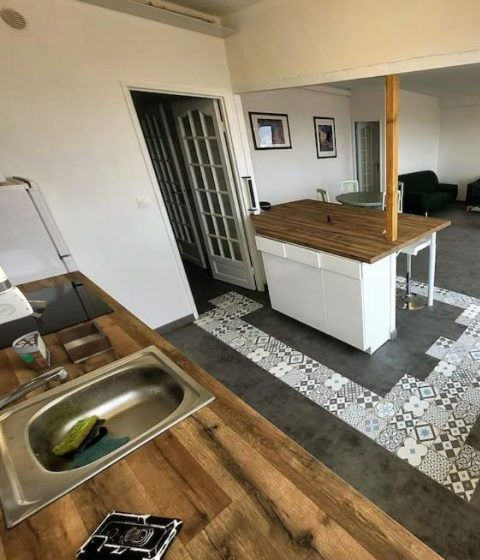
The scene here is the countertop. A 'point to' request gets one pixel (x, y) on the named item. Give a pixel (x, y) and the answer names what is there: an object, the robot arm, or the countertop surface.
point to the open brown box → (85, 341)
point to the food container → (32, 351)
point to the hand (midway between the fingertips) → (20, 333)
